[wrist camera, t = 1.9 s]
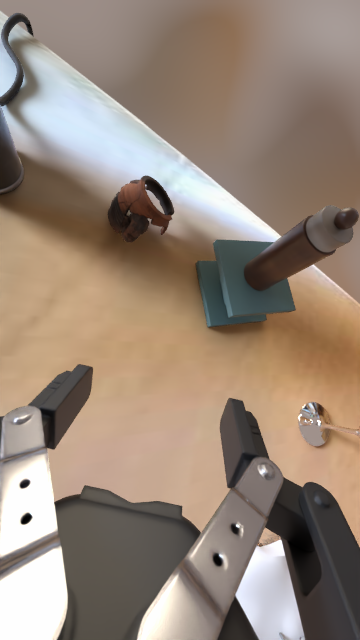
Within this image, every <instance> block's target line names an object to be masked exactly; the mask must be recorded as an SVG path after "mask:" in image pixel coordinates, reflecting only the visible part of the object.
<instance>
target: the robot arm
mask: <svg viewBox="0 0 360 640" xmlns="http://www.w3.org/2000/svg"><path fill="white" fill-rule="evenodd" d="M18 22H24V23H25V25H26V27H27V30H28V33H29V34H31V35H32V36H33V31H32V27H31V24H30V21H29V20H28V18H27V17H26V16H25V15H23V14H21V13H15V14H13V15H12V16H10V17H9V18H8V20H7V21H6V23H5V24H4V26H3V29H2V32H1V39H2V42H3V45H4V47H5V49H6V51H7V52H8V54H9V55H10V57H11V58H12V60H13V61H14V63H15V65H16V68H17V75H16V79H15V81H14V83H13V85H12V87H11V88H10V89H9V90H8V91H7V92H6V93H5V94H4V95H3V96H1V97H0V194H4V193H7V192H9V191H12V190H13V189H15V188H16V187H17V186H18V185H19V184H20V183H21V181H22V179H23V175H24V169H23V166H22V163H21V160H20V158H19V157H18V154H17V151H16V148H15V145H14V142H13V139H12V136H11V133H10V131H9V128H8V125H7V122H6V119H5V116H4V114H3V111H2V108H1V106H4V105H6V104H7V103H8V102H10V101H11V100H12V99H13V98H14V97H15V95H16V94H17V93H18V91H19V89H20V87H21V85H22V82H23V77H24V73H23V68H22V65H21V63H20V61H19V59H18V57H17V56H16V54H15V53H14V51H13V50H12V48H11V47H10V45H9V43H8V36H9V33H10V31H11V29H12V28H13V27H14V26H15V25H16V24H17V23H18ZM33 37H34V36H33ZM92 375H93V367H90V366H86V365H81V364H79V365H77V366H76V368H75V369H74V370H73V371H72V372H70V371H65V372H63V373H61V374H59V375H58V376H57V377H56V378H55V379H54V380H53V381H52V383H50V384H49V385H48V386H47V388H45V389H44V390H43V391H42V392H41V393H40V394H39V395H38V396H37V397H36V398H35V399H34V400H33V401H32V402H31V403H30V404H29V405H28V406H24V407H19V408H16V409H14V410H12V411H10V412H9V413H8V414H7V415H6V416H2V417H0V640H259V638H258V636H257V635H256V633H255V631H254V629H253V627H252V625H251V623H250V622H249V620H248V618H247V616H246V614H245V612H244V610H243V608H242V607H241V605H240V603H239V601H238V599H237V597H236V592H237V590H238V588H239V585H240V583H241V581H242V578H243V576H244V574H245V572H246V569H247V567H248V565H249V562H250V560H251V558H252V555H253V553H254V551H255V549H256V546H257V544H258V542H259V539H260V537H261V535H262V532H263V530H264V528H265V527H266V528H267V529H269V530H271V531H272V532H274V533H276V534H277V535H279V536H281V540H282V545H283V549H284V553H285V557H286V561H287V565H288V570H289V574H290V578H291V582H292V586H293V590H294V595H295V599H296V603H297V607H298V611H299V615H300V620H301V624H302V628H303V632H304V636H305V640H360V547H359V545H358V543H357V541H356V539H355V537H354V535H353V533H352V531H351V529H350V527H349V525H348V523H347V521H346V519H345V517H344V515H343V513H342V511H341V509H340V507H339V505H338V503H337V501H336V499H335V498H334V497H333V496H332V494H331V493H330V492H329V491H327V490H326V489H325V488H324V487H322V486H321V485H319V484H317V483H313V482H308V483H306V484H305V485H304V486H303V487H301V486H299V485H297V484H295V483H293V482H291V481H289V480H287V479H286V478H284V477H283V475H282V473H281V471H280V469H279V468H278V467H277V465H276V464H275V463H273V462H272V461H271V460H270V459H269V456H268V453H267V450H266V447H265V444H264V441H263V438H262V436H261V432H260V429H259V426H258V423H257V420H256V419H255V417H254V416H253V415H252V413H251V412H249V411H246V410H245V407H244V403H243V401H241V400H237V399H232V398H229V399H228V401H227V404H226V406H225V409H224V412H223V415H222V418H221V422H220V433H221V441H222V449H223V457H224V464H225V472H226V480H227V488H231V490H230V491H229V493H228V494H227V496H226V497H225V499H224V500H223V502H222V503H221V505H220V506H219V507H218V509H217V510H216V512H215V513H214V515H213V516H212V518H211V519H210V521H209V522H208V524H207V525H206V527H205V528H204V530H203V531H202V533H201V532H200V531H199V530H198V529H197V528H196V526H195V525H194V524H192V523H191V522H190V521H189V520H188V519H186V518H185V517H183V516H182V506H179V505H174V504H169V503H165V502H160V501H153V502H141V503H131V502H129V501H127V500H125V499H123V498H121V497H120V496H118V495H116V494H114V493H112V492H111V491H109V490H104V489H100V488H95V487H90V486H86V485H85V486H84V488H83V490H82V492H81V494H77V495H72V496H68V497H65V498H62V499H60V500H58V501H56V502H54V497H53V490H52V482H51V474H50V467H49V459H48V452H47V448H50V449H55V448H56V446H57V445H58V443H59V442H60V440H61V439H62V437H63V436H64V434H65V433H66V431H67V430H68V428H69V427H70V425H71V424H72V422H73V421H74V419H75V418H76V416H77V415H78V413H79V412H80V410H81V409H82V407H83V406H84V404H85V403H86V401H87V400H88V398H89V395H90V392H91V386H92Z"/></svg>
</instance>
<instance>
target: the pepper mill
mask: <svg viewBox="0 0 360 640" xmlns="http://www.w3.org/2000/svg"><path fill="white" fill-rule="evenodd" d="M358 218H359V215H358V212H357V210H355V209H354V208H344V209H342V210H340V209H339V208H337V207H335V206H331V205H330V206H326V207H324V208H323V209H322V210H321V211H319V212H318V213H316V214H315V215H312V216H308V217H307V218H305V219H304V220H303V221H302V222H300V223H299V224H298V225H296V226H295V227H294V228H292V229H291V230H290V231H289V232H287V233H286V234H285V235H284V236H282V237H281V238H279V239H278V240H277V241H275V242H274V243H273V244H272V245H270V246H269V247H268V248H266V249H265V250H264V251H262V252H261V253H260V254H259V255H257V256H256V257H255V258H253V259H252V260H251V261H249V262H248V263H247V264H246V265H245V268H244V277H245V279H246V281H247V283H248V284H249V285H250V286H251V287H252V288H253V289H255V290H259V291H262V290H265V289H267V288H269V287H271V286H273V285H275V284H277V283H279V282H281V281H283V280H284V279H286V278H288V277H290V276H292V275H294V274H296V273H298V272H300V271H301V270H303V269H305V268H307V267H309V266H311V265H313V264H315V263H316V262H318V261H320V260H322V259H324V258H326V257H328V256H330V255H332V254H333V253H334V252H335V251H336V249H337V248H339V247H341V246H343V245H345V244H346V243H348V242H350V241H351V239H352V237H353V228H352V226H354V225H355V224H356V222H357V221H358Z"/></svg>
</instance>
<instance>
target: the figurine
mask: <svg viewBox="0 0 360 640" xmlns="http://www.w3.org/2000/svg"><path fill="white" fill-rule="evenodd" d="M236 597H237V599H238V601H239V603H240V605H241V607H242V608H243V610H244V612H245V614H246V616H247V618H248V620H249V622H250V623H251V625H252V627H253V629H254V631H255V633H256V635H257V636H258V638H259V640H305V636H304V632H303V628H302V624H301V620H300V615H299V611H298V607H297V603H296V599H295V595H294V590H293V586H292V582H291V578H290V574H289V570H288V565H287V561H286V557H285V553H284V549H283V545H282V540H279V541H276V542H274V543H272V544H269V545H265V546H261V547H259V546H258V545H257V546H256V549H255V551H254V553H253V555H252V558H251V560H250V562H249V565H248V567H247V569H246V572H245V574H244V576H243V578H242V581H241V583H240V585H239V588H238V590H237V592H236Z"/></svg>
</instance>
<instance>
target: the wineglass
mask: <svg viewBox="0 0 360 640" xmlns="http://www.w3.org/2000/svg"><path fill="white" fill-rule="evenodd" d="M298 425H299V430H300V433H301V435H302V437H303V438H304V440H305V441H306V442H307V443H308V444H310V445H312V446H321V445H323V444H324V443H325V442H326V441H327V439H328V437H329V434H330V429H333V430H337V431H342V432H346V433H350V434H354V435H357V436H359V437H360V427H359V429H351V428H345V427H340V426H335V425H330V420H329V417H328V414H327V412H326V410H325V409H324V408H323V407H322V406H321V405H320V404H318V403H316V402H308V403H306V404H305V405H304V406H303V407H302V408H301V410H300V413H299V417H298Z"/></svg>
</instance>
